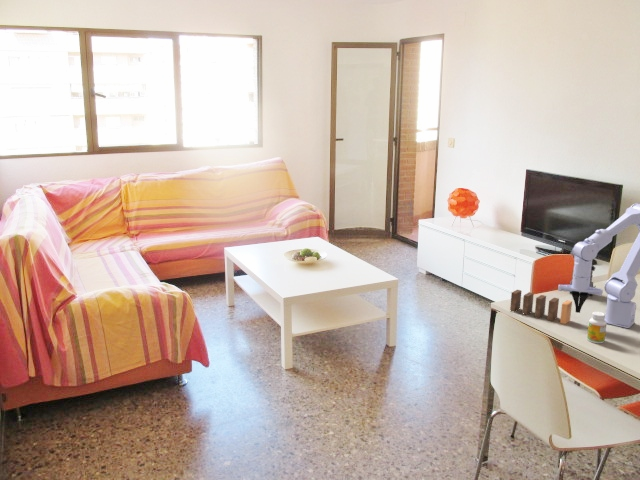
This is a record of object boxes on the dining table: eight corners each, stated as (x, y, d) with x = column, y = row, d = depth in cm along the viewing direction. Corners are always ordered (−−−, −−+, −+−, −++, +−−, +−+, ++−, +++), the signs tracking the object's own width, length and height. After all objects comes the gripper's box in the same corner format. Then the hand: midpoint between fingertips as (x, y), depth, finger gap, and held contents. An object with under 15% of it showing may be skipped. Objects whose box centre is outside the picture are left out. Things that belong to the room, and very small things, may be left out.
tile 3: (544, 314, 228) (546, 295, 227) (539, 318, 225) (541, 299, 223) (539, 313, 229) (541, 294, 228) (534, 317, 226) (536, 298, 224)
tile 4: (531, 311, 231) (533, 293, 230) (526, 315, 228) (528, 296, 226) (527, 310, 233) (529, 292, 231) (522, 314, 229) (523, 295, 227)
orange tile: (570, 320, 222) (572, 301, 220) (565, 324, 219) (567, 304, 217) (565, 319, 223) (567, 300, 222) (560, 323, 220) (562, 303, 218)
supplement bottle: (583, 338, 205) (586, 311, 203) (595, 336, 207) (598, 310, 205) (595, 344, 201) (598, 317, 198) (608, 342, 202) (611, 315, 200)
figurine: (570, 298, 248) (573, 263, 244) (569, 290, 258) (572, 256, 255) (594, 300, 244) (598, 265, 241) (592, 292, 255) (596, 258, 252)
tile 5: (519, 308, 234) (521, 290, 233) (514, 312, 231) (516, 293, 229) (515, 307, 236) (517, 289, 234) (510, 311, 232) (511, 292, 230)
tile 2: (557, 317, 225) (559, 298, 224) (552, 321, 222) (554, 301, 220) (552, 316, 226) (554, 297, 225) (547, 320, 223) (549, 300, 221)
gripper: (603, 274, 215) (598, 310, 218) (559, 270, 220) (556, 305, 223) (604, 280, 209) (600, 317, 212) (560, 275, 214) (556, 311, 217)
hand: (577, 311), depth 217 cm, fingers closed
